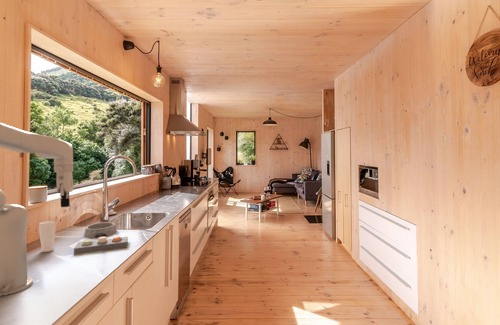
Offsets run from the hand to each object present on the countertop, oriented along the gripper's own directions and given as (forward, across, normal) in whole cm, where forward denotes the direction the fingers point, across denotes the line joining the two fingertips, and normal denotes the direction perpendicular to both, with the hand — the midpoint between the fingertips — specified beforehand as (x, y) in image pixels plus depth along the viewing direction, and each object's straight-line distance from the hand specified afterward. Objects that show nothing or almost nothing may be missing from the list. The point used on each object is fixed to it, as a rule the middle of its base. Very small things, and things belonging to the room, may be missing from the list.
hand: (65, 206), depth 127 cm
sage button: (+24, +9, -7) cm, 26 cm away
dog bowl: (+26, +40, -9) cm, 48 cm away
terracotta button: (+24, +9, -21) cm, 33 cm away
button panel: (+25, +9, -14) cm, 30 cm away
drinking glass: (+25, +16, +12) cm, 32 cm away
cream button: (+23, +9, -14) cm, 28 cm away
